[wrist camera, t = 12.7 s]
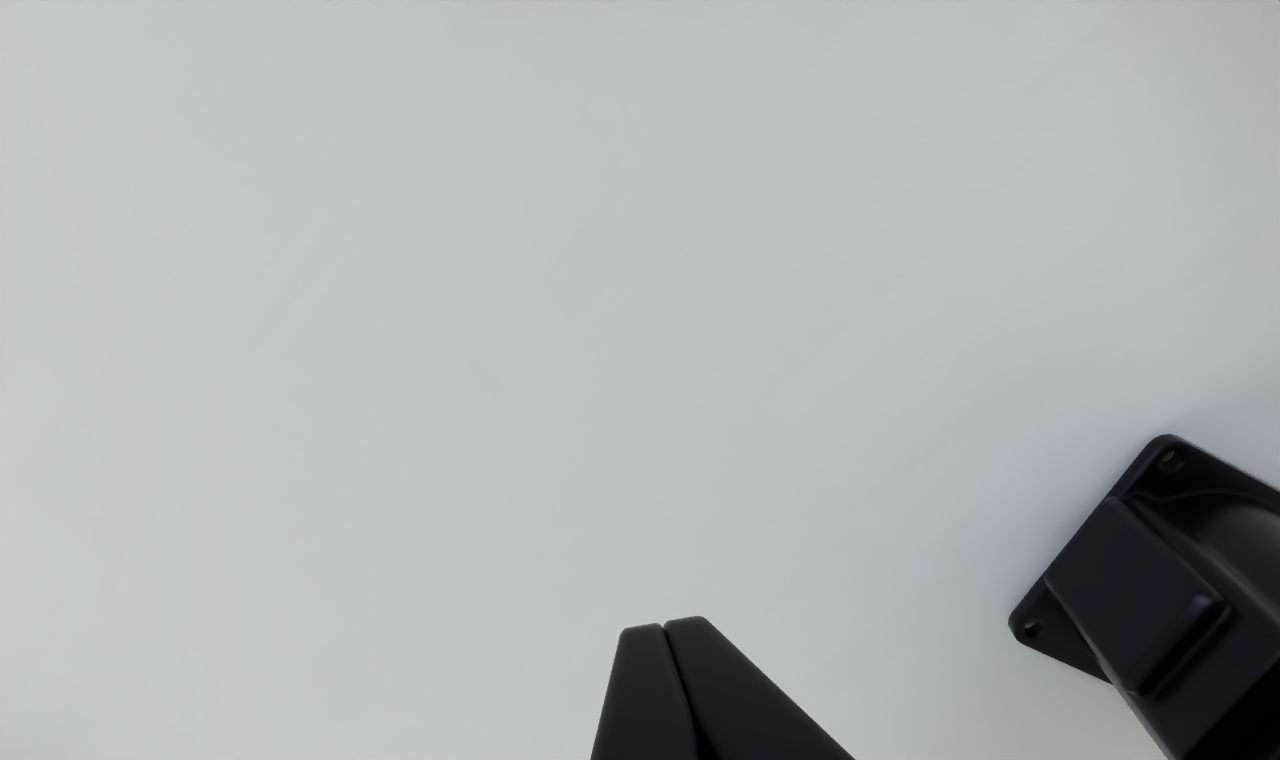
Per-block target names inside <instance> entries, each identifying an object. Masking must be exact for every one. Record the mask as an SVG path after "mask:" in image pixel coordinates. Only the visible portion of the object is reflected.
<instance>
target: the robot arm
mask: <svg viewBox="0 0 1280 760" xmlns="http://www.w3.org/2000/svg"><path fill="white" fill-rule="evenodd" d="M1171 451H1174V454H1173V456H1172V458H1170V459H1169V460H1168V461H1165V462H1162V460H1163V458H1164V456H1165V455H1166V454H1167V453H1169V452H1171ZM1031 622H1036V623H1035V624H1034V625H1033V626H1032V627H1029V628H1025V626H1026V625H1027V624H1029V623H1031ZM1008 625H1009V628H1010V630H1011V631H1012V633H1013V635H1014V636H1015V638H1016V639H1017V640H1018V641H1019V642H1020V643H1022V644H1024V645H1026V646H1028V647H1030V648H1032V649H1035V650H1037V651H1039V652H1041V653H1043V654H1046V655H1048V656H1050V657H1052V658H1055V659H1057V660H1059V661H1061V662H1063V663H1066V664H1068V665H1070V666H1072V667H1074V668H1077V669H1079V670H1081V671H1083V672H1085V673H1088V674H1090V675H1092V676H1094V677H1097V678H1099V679H1101V680H1103V681H1105V682H1108V683H1110V684H1112V685H1114V686H1115V688H1116V689H1117V690H1118V692H1119V693H1120V695H1121V696H1122V697H1123V699H1124V700H1125V701H1126V703H1127V704H1128V705H1129V707H1130V708H1131V710H1132V711H1133V712H1134V714H1135V715H1136V716H1137V718H1138V719H1139V721H1140V722H1141V723H1142V725H1143V726H1144V727H1145V729H1146V730H1147V732H1148V733H1149V734H1150V736H1151V737H1152V738H1153V740H1154V741H1155V743H1156V744H1157V745H1158V747H1159V748H1160V749H1161V751H1162V752H1163V754H1164V755H1165V756H1166V758H1167V759H1168V760H1280V490H1279V489H1277V488H1275V487H1273V486H1271V485H1269V484H1268V483H1266V482H1264V481H1262V480H1260V479H1258V478H1256V477H1254V476H1252V475H1250V474H1248V473H1247V472H1245V471H1243V470H1241V469H1239V468H1237V467H1235V466H1233V465H1231V464H1229V463H1227V462H1226V461H1224V460H1222V459H1220V458H1218V457H1216V456H1214V455H1212V454H1210V453H1208V452H1206V451H1205V450H1203V449H1201V448H1199V447H1197V446H1195V445H1193V444H1191V443H1189V442H1187V441H1186V440H1184V439H1182V438H1180V437H1178V436H1175V435H1171V434H1167V435H1161V436H1158V437H1156V438H1154V439H1153V440H1152V441H1151V442H1149V443H1148V444H1147V445H1146V447H1145V448H1144V449H1143V450H1142V452H1141V453H1140V454H1139V455H1138V457H1137V458H1136V459H1135V460H1134V462H1133V463H1132V464H1131V465H1130V467H1129V468H1128V469H1127V470H1126V472H1125V473H1124V474H1123V475H1122V477H1121V478H1120V479H1119V480H1118V481H1117V483H1116V484H1115V485H1114V486H1113V488H1112V489H1111V490H1110V491H1109V493H1108V494H1107V495H1106V496H1105V498H1104V499H1103V500H1102V501H1101V503H1100V504H1099V505H1098V506H1097V508H1096V509H1095V510H1094V511H1093V513H1092V514H1091V515H1090V516H1089V518H1088V519H1087V520H1086V521H1085V522H1084V524H1083V525H1082V526H1081V527H1080V529H1079V530H1078V531H1077V532H1076V534H1075V535H1074V536H1073V537H1072V539H1071V540H1070V541H1069V542H1068V544H1067V545H1066V546H1065V547H1064V549H1063V550H1062V551H1061V552H1060V554H1059V555H1058V556H1057V557H1056V559H1055V560H1054V561H1053V562H1052V563H1051V565H1050V566H1049V567H1048V568H1047V570H1046V571H1045V572H1044V573H1043V575H1042V576H1041V577H1040V578H1039V580H1038V581H1037V582H1036V583H1035V585H1034V586H1033V587H1032V588H1031V590H1030V591H1029V592H1028V593H1027V595H1026V596H1025V597H1024V598H1023V600H1022V601H1021V602H1020V603H1019V605H1018V606H1017V607H1016V608H1015V609H1014V611H1013V612H1012V613H1011V615H1010V617H1009V620H1008ZM590 760H855V759H854V758H853V757H852V756H851V755H850V754H849V753H848V752H847V751H846V750H844V749H843V748H842V747H841V746H840V745H839V744H838V743H837V742H836V741H835V740H834V739H833V738H832V737H831V736H830V735H829V734H828V733H826V732H825V731H824V730H823V729H822V728H821V727H820V726H819V725H818V724H817V723H816V722H815V721H814V720H813V719H812V718H811V717H809V716H808V715H807V714H806V713H805V712H804V711H803V710H802V709H801V708H800V707H799V706H798V705H797V704H796V703H795V702H794V701H793V700H791V699H790V698H789V697H788V696H787V695H786V694H785V693H784V692H783V691H782V690H781V689H780V688H779V687H778V686H777V685H776V684H775V683H773V682H772V681H771V680H770V679H769V678H768V677H767V676H766V675H765V674H764V673H763V672H762V671H761V670H760V669H759V668H758V667H756V666H755V665H754V664H753V663H752V662H751V661H750V660H749V659H748V658H747V657H746V656H745V655H744V654H743V653H742V652H741V651H740V650H738V649H737V648H736V647H735V646H734V645H733V644H732V643H731V642H730V641H729V640H728V639H727V638H726V637H725V636H724V635H723V634H721V633H720V632H719V631H718V630H717V629H716V628H715V627H714V626H713V625H712V624H711V623H710V622H709V621H708V620H707V619H705V618H704V617H701V616H694V617H688V618H682V619H676V620H670V621H667V622H666V623H665V624H664V627H663V628H662V626H661V625H660V624H657V623H653V624H647V625H641V626H636V627H630V628H626V629H624V630H623V631H622V633H621V635H620V638H619V642H618V646H617V650H616V655H615V659H614V663H613V667H612V671H611V675H610V680H609V684H608V688H607V692H606V696H605V700H604V705H603V709H602V713H601V717H600V721H599V725H598V730H597V734H596V738H595V742H594V746H593V750H592V755H591V759H590Z"/></svg>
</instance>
